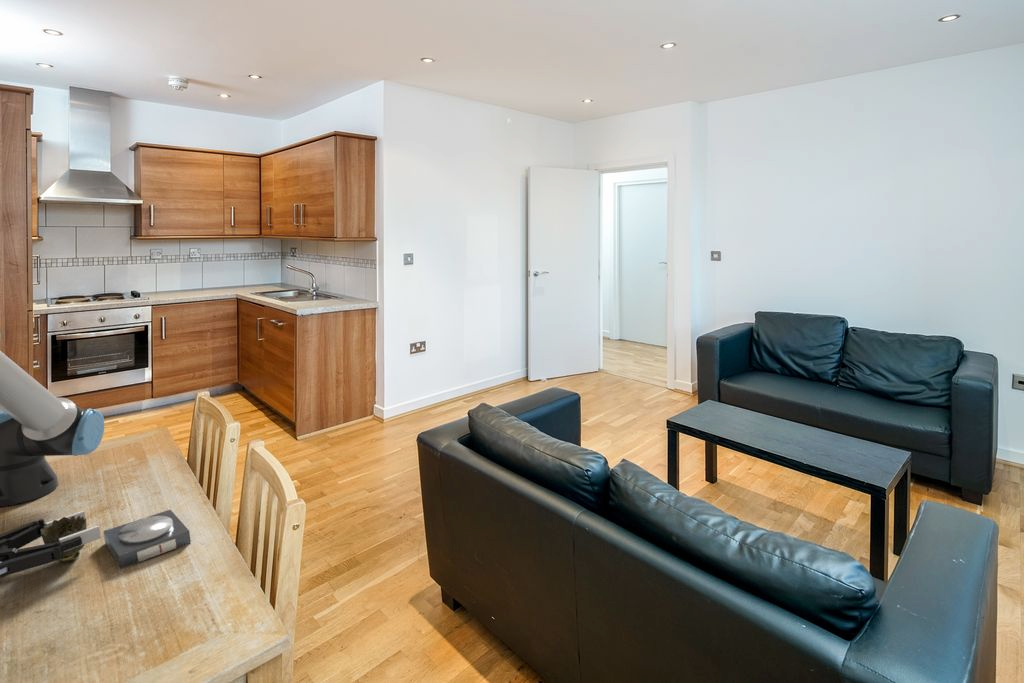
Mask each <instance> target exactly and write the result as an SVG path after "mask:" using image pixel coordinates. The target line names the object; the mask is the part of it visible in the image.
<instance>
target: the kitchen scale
mask: <svg viewBox="0 0 1024 683" xmlns="http://www.w3.org/2000/svg"><path fill="white" fill-rule="evenodd" d="M103 537H104V544H105V545H106V547H107V549H108V551H109V552H110V554H111V555H112V557H113V558H114V560H115V561H116V563H117V565H118V567H119V568H120V569H125V568H127V567H128V568H129V567H130V566H133V565H135V564H137V563H141V562H143V561H146V560H149V559H151V558H154V557H157V556H159V555H162V554H165V553H168V552H171V551H172V550H173V551H174V550H176V549H178V548H181V547H184V546H186V544H187V545H189V544H191V543H190V542H191V533H190V529H188V528H187V526H186V525H185V524H184V523H183V522H182V521H181V520H180V519H179V517H177V515H176V514H175V513H174V512H173V511H172V509H167V510H165V511H162V512H158V513H154V514H153V515H152V514H151V515H148V516H145V517H142V518H138V519H136V520H134V521H131V522H128V523H124V524H121V525H117V526H116V527H113V528H108V529H106V530H103ZM188 543H189V544H188ZM183 545H184V546H183Z"/></svg>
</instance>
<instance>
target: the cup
mask: <svg viewBox="0 0 1024 683" xmlns="http://www.w3.org/2000/svg"><path fill="white" fill-rule="evenodd" d="M62 517H63V518H62ZM62 517H60V518H61V519H60V520H59V521H57V520H56V519H53V520H54V521H53V520H52V521H53V522H52V526H49V527H47V526H44V527H43V529H41V530H40V533H41V536H42V537H41V538H42V541H43V545H44V544H49V543H54V542H59V539H60V538H63V537H66V536H69V535H71V534H74V533H77V532H80V531H83V530H86V529H87V518H86V517H85V519H84V517H83V516H82V518H81V517H80V516H78V517H77V518H76V519H75V517H74V516H72V517H71V519H68V518H66V517H65V516H62ZM85 545H86V544H84V545H81V546H78V547H75V548H73V549H70V550H67V551H64V552H62V553H63V557H62V558H61V559H60V560H58V561H57V562H59V563H60V564H64V563H65V564H67V563H71V562H74V561H75V560H77V559H78V558H79V557H80V555H81V552H80V551H81V550H82V549H83V548H84V546H85Z"/></svg>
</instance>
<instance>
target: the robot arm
mask: <svg viewBox="0 0 1024 683" xmlns="http://www.w3.org/2000/svg"><path fill="white" fill-rule="evenodd" d="M1 336H2V334H1V332H0V341H1V339H2V338H1ZM104 433H105V419H104V416H103V414H102V412H101V411H100V410H98V409H93V408H91V407H90V408H85V409H84V408H81V407H79V406H78V404H76V403H75V402H74V401H72V400H70V399H69V398H66V397H57V396H55V394H53V393H52V392H51V391H50V390H48V388H46V387H45V386H44V385H43V384H41V383H40V382H38V381H37V380H36V379H35V378H34V377H33V376H31V375H30V374H29V373H28V372H26V371H25V370H24V369H23V368H21V366H19V365H18V364H17V363H16V362H15V361H14V360H12V359H11V358H10V357H8V355H6V354H4V352H3V351H1V350H0V506H2V507H9V506H8V505H10V506H15V505H19V504H18V503H20V504H23V502H24V503H27V501H28V502H31V501H34V500H36V499H40V498H41V497H44V496H46V495H48V494H50V493H52V492H54V490H56V489H57V488H58V486H59V480H58V476H57V474H56V472H55V471H54V469H53V468H52V466H51V464H50V463H49V462H48V461H47V460H46V456H49V457H53V456H59V457H60V456H61V457H63V456H66V457H67V456H73V457H77V456H85V455H86V456H87V455H90V454H91V453H93V452H94V451H96V450H97V449H98V448H99V446H100V444H101V442H102V440H103V437H104ZM56 487H57V488H56ZM30 500H31V501H30ZM14 504H15V505H14ZM72 516H74V517H75V519H76V518H77V517H78V516H80V517H81V518H82V516H83V517H84V519H85V518H86V513H85V510H81V511H77V512H75V513H74V512H73V513H71V514H68V515H65V516H62V517H60V518H56V519H52V520H51V521H50V520H49V521H48V522H47V521H46V522H45V519H43V518H41V519H38V520H33V521H31V522H29V523H26V524H24V525H21V526H19V527H16V528H14V529H11V530H8V531H6V532H3V533H1V534H0V579H3V578H5V577H7V576H10V575H13V574H16V573H19V572H20V573H21V572H24V571H27V570H30V569H33V568H37V567H40V566H43V565H48V564H49V563H53V562H59V561H58V560H60V559H61V558H62V557H63V553H62V552H64V551H67V550H70V549H73V548H75V547H78V546H81V545H84V544H85V545H86V544H89V543H91V542H94V541H97V540H99V539H101V538H102V537H101V536H102V535H101V530H100V526H99V525H95V526H92V527H90V528H86V530H83V531H80V532H77V533H74V534H71V535H69V536H66V537H63V538H60V539H59V542H54V543H49V544H44V543H43V544H39V545H33V546H29V547H24V546H26V545H28V544H30V543H32V542H34V541H36V540H38V539H40V538H42V536H41V533H40V530H41V529H43V527H44V526H47V527H49V526H52V522H53V521H54V520H57V521H59V520H60V519H61V518H63V517H66V518H68V519H71V517H72ZM85 545H84V546H85ZM22 547H24V548H22Z"/></svg>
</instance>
